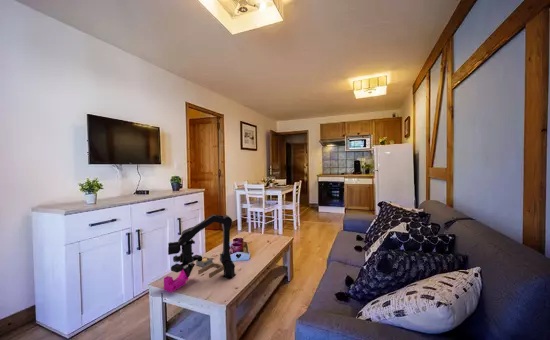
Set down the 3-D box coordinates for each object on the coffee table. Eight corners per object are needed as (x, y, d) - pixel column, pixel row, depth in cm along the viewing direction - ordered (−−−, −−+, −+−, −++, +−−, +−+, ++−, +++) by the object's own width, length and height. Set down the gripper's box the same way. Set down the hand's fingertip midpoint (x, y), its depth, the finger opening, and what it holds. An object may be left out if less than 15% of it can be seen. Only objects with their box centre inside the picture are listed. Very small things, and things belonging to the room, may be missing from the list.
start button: (208, 262, 164) (208, 258, 164) (204, 264, 161) (204, 260, 161) (204, 261, 166) (204, 257, 166) (200, 263, 163) (200, 259, 163)
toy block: (171, 293, 127) (171, 280, 127) (164, 290, 130) (163, 278, 130) (191, 280, 141) (191, 268, 141) (184, 278, 144) (183, 267, 143)
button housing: (212, 263, 165) (212, 258, 165) (204, 267, 158) (204, 263, 158) (204, 261, 169) (204, 256, 169) (196, 265, 162) (196, 260, 162)
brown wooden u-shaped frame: (224, 268, 156) (224, 265, 155) (210, 277, 144) (210, 273, 144) (213, 265, 161) (212, 262, 161) (198, 273, 149) (198, 270, 149)
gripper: (190, 244, 147) (191, 267, 147) (164, 254, 130) (165, 281, 131) (202, 247, 141) (203, 271, 142) (176, 258, 125) (177, 285, 125)
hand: (187, 276), depth 135 cm, fingers closed
